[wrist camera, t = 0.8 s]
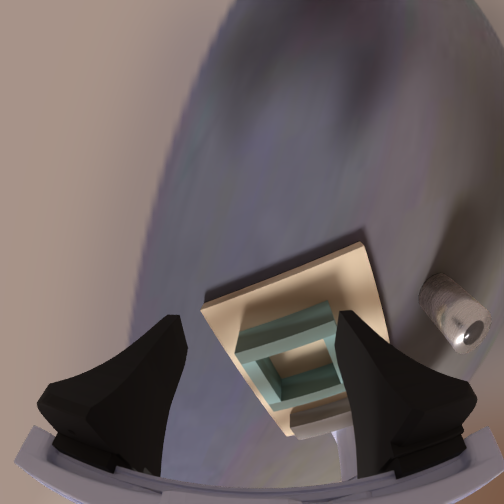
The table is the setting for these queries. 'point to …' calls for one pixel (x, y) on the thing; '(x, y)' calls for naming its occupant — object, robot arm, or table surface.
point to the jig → (298, 337)
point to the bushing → (455, 313)
